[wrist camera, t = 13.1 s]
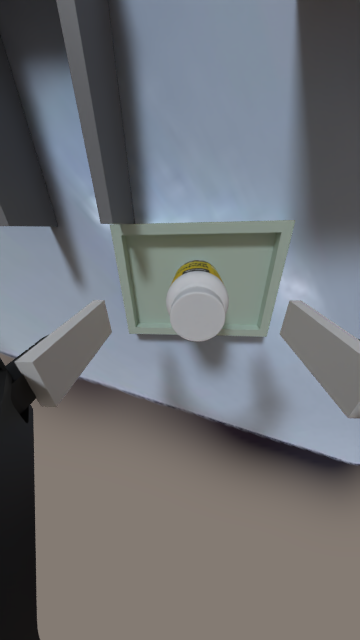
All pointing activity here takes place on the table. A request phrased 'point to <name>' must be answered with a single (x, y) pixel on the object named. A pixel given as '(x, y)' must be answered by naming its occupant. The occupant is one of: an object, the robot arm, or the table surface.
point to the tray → (213, 247)
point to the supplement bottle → (197, 301)
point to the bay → (95, 117)
